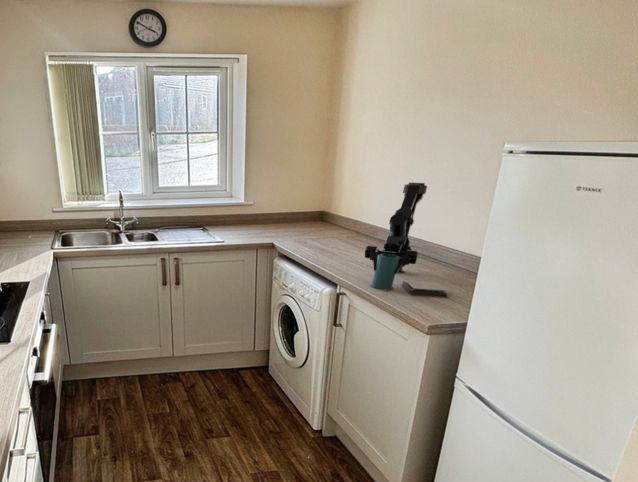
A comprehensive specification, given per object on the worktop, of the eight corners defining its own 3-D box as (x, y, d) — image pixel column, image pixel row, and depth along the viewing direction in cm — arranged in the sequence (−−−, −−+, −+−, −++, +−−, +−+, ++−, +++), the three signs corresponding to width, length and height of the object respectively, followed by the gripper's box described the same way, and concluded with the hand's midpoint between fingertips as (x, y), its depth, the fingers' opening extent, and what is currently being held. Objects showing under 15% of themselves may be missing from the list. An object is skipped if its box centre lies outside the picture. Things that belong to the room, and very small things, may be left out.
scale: (401, 284, 189) (402, 280, 188) (434, 286, 186) (435, 283, 185) (411, 294, 177) (412, 290, 176) (446, 297, 174) (447, 293, 173)
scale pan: (405, 281, 186) (406, 280, 186) (436, 283, 183) (436, 282, 183) (413, 289, 176) (414, 288, 176) (445, 291, 174) (446, 290, 174)
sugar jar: (370, 283, 190) (377, 252, 185) (389, 285, 188) (397, 254, 183) (373, 288, 184) (381, 257, 178) (393, 290, 182) (401, 258, 177)
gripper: (370, 225, 185) (359, 257, 181) (423, 230, 175) (413, 264, 171) (370, 241, 194) (359, 272, 190) (420, 247, 183) (410, 279, 180)
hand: (384, 271), depth 182 cm, fingers closed on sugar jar, 7 cm apart
